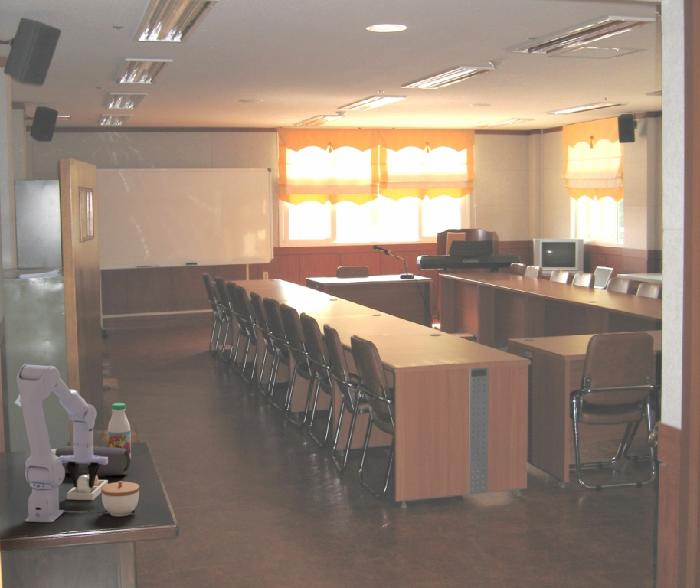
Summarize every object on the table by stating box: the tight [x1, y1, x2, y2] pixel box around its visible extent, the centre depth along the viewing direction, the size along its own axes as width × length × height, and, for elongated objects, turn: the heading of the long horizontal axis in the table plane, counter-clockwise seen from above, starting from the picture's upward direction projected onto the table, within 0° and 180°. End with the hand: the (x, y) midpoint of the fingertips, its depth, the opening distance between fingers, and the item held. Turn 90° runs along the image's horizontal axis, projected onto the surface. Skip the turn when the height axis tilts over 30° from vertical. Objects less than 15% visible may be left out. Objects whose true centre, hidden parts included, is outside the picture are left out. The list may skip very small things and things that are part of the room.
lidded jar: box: [101, 480, 140, 517], centre depth 281 cm, size 11×11×9 cm
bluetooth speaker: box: [54, 445, 131, 477], centre depth 317 cm, size 23×9×10 cm, turn 84°
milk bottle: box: [107, 402, 132, 460], centre depth 335 cm, size 8×8×20 cm
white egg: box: [77, 475, 91, 493], centre depth 295 cm, size 4×4×5 cm
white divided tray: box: [66, 479, 109, 501], centre depth 299 cm, size 14×8×2 cm, turn 176°
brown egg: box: [87, 474, 99, 486], centre depth 302 cm, size 4×4×5 cm
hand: (84, 486), depth 295 cm, fingers closed on white egg, 4 cm apart
